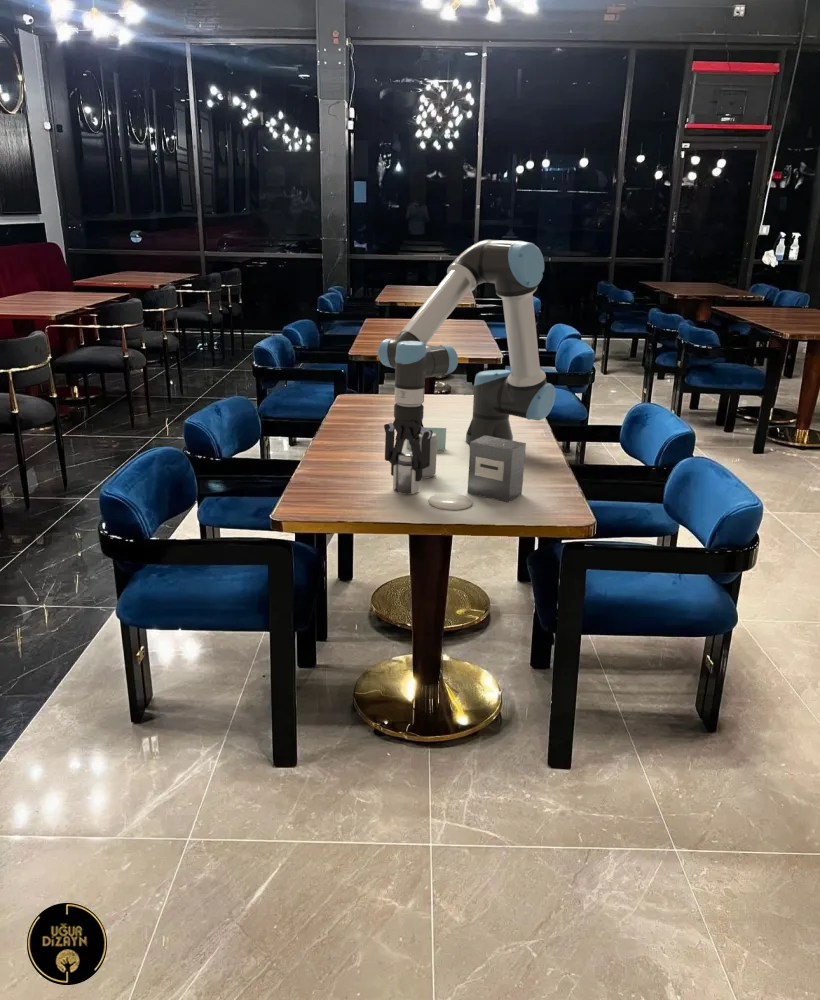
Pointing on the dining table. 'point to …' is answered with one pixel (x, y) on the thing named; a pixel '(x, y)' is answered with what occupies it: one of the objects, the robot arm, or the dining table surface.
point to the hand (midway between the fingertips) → (405, 489)
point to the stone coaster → (450, 501)
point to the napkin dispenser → (496, 468)
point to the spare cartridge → (405, 472)
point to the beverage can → (433, 452)
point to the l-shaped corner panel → (440, 436)
